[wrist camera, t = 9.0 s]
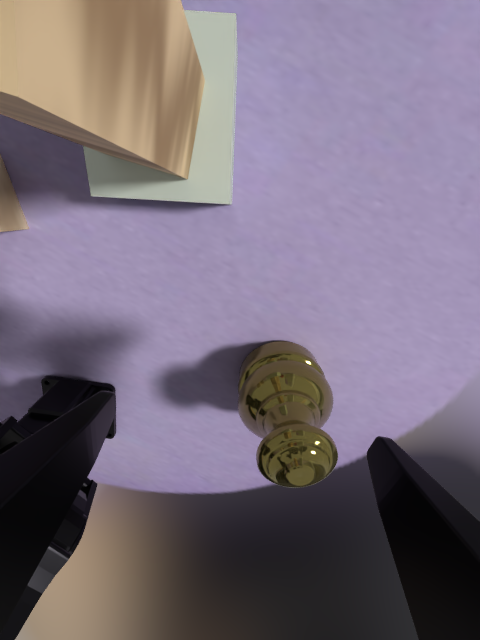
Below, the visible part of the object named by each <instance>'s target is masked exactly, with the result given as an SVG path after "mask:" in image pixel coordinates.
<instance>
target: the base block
mask: <svg viewBox="0 0 480 640" xmlns="http://www.w3.org/2000/svg"><path fill="white" fill-rule="evenodd" d="M184 13H185V16H186V19H187V22H188V26H189V29H190V32H191V36H192V39H193V42H194V45H195V49H196V52H197V55H198V58H199V62H200V65H201V68H202V72H203V75H204V78H205V84H204V90H203V95H202V101H201V107H200V112H199V118H198V124H197V129H196V135H195V141H194V147H193V152H192V158H191V164H190V169H189V175H188V179H185V178H181V177H178V176H175V175H172V174H168V173H165V172H162V171H159V170H155V169H152V168H149V167H146V166H142V165H139V164H136V163H133V162H129V161H126V160H123V159H120V158H116V157H113V156H110V155H107V154H104V153H101V152H99V151H96V150H93V149H91V148H88V147H86V146H83V149H84V156H85V162H86V168H87V175H88V181H89V187H90V194H91V196H95V197H110V198H126V199H144V200H161V201H178V202H195V203H212V204H230V205H232V190H233V163H234V136H235V110H236V83H237V56H238V55H237V25H236V14H234V13H219V12H204V11H190V10H184Z"/></svg>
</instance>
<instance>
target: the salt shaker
mask: <svg viewBox="0 0 480 640" xmlns="http://www.w3.org/2000/svg"><path fill="white" fill-rule="evenodd" d="M238 393H239V397H238V411H239V415H240V418H241V420H242V422H243V423H244V425H245V426H246V427H247V428H248V429H249V430H250V431H251V432H252V433H254V434H255V435H257V436H258V437H260V438H263V440H262V441H261V443H260V444H259V446H258V449H257V453H256V461H257V465H258V469H259V471H260V472H261V474H262V475H263V476H264V477H265V478H266V479H268V480H269V481H271V482H273V483H275V484H277V485H280V486H284V487H292V488H297V487H305V486H309V485H313V484H315V483H317V482H319V481H321V480H323V479H324V478H325V477H327V476H328V475H329V474H330V473H331V472H332V471H333V469H334V468H335V466H336V463H337V460H338V453H337V448H336V445H335V443H334V441H333V439H332V438H331V437H330V436H329V435H328V434H327V433H326V432H324V431H323V430H321V429H320V428H322V427H323V425H324V424H325V423H326V422H327V420H328V418H329V417H330V414H331V412H332V408H333V394H332V390H331V388H330V386H329V384H328V382H327V381H326V379H325V376H324V373H323V371H322V369H321V368H320V366H319V365H318V363H317V361H316V359H315V357H314V356H313V355H312V354H311V352H309V351H308V350H307V349H306V348H304V347H303V346H301V345H298V344H296V343H292V342H285V341H278V342H271V343H267V344H264V345H262V346H260V347H258V348H256V349H255V350H253V351H252V352H251V353H250V354H249V355H248V356H247V357H246V358H245V360H244V361H243V363H242V365H241V368H240V373H239V384H238Z"/></svg>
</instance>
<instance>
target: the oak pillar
mask: <svg viewBox="0 0 480 640" xmlns="http://www.w3.org/2000/svg"><path fill="white" fill-rule="evenodd" d="M204 84H205V78H204V75H203V72H202V68H201V65H200V62H199V58H198V55H197V52H196V49H195V45H194V42H193V39H192V36H191V32H190V29H189V26H188V22H187V19H186V16H185V13H184V9H183V6H182V3H181V0H0V114H2V115H4V116H7V117H9V118H12V119H15V120H17V121H20V122H23V123H25V124H28V125H30V126H33V127H36V128H38V129H41V130H44V131H46V132H49V133H51V134H54V135H57V136H59V137H62V138H65V139H67V140H70V141H72V142H75V143H78V144H80V145H83V146H86V147H88V148H91V149H93V150H96V151H99V152H101V153H104V154H107V155H110V156H113V157H116V158H120V159H123V160H126V161H129V162H133V163H136V164H139V165H142V166H146V167H149V168H152V169H155V170H159V171H162V172H165V173H168V174H172V175H175V176H178V177H181V178H185V179H188V175H189V169H190V164H191V158H192V152H193V147H194V141H195V135H196V129H197V124H198V118H199V112H200V107H201V101H202V95H203V90H204Z"/></svg>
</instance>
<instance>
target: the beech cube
mask: <svg viewBox="0 0 480 640" xmlns="http://www.w3.org/2000/svg"><path fill="white" fill-rule="evenodd" d="M24 229H29V227H28V224H27V222H26V219H25V216H24V214H23V211H22V209H21V206H20V203H19V201H18V198H17V196H16V193H15V191H14V188H13V185H12V183H11V180H10V178H9V175H8V172H7V170H6V167H5V165H4V162H3V160H2V157H1V154H0V232H4V231H14V230H24Z"/></svg>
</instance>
